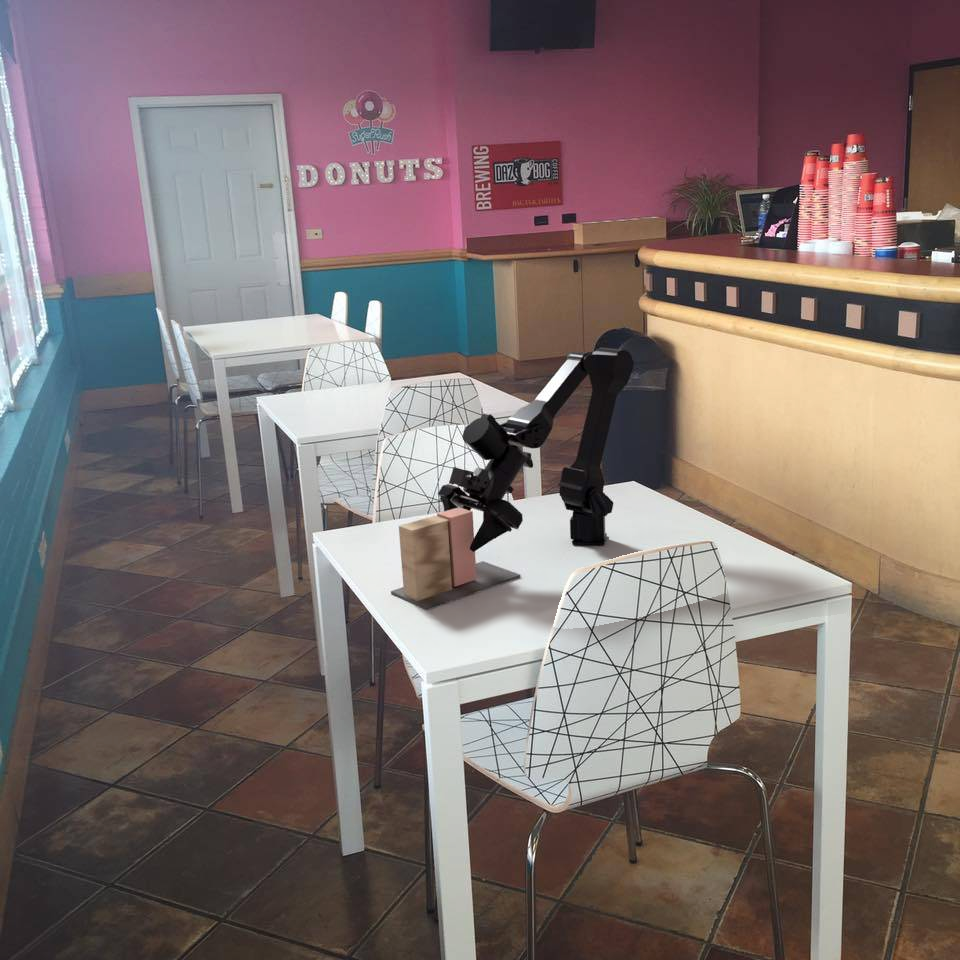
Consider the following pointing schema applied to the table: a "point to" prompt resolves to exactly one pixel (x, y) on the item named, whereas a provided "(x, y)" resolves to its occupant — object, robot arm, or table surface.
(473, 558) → the stub
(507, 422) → the robot arm
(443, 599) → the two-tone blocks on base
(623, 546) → the table surface
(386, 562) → the table surface
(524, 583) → the table surface
